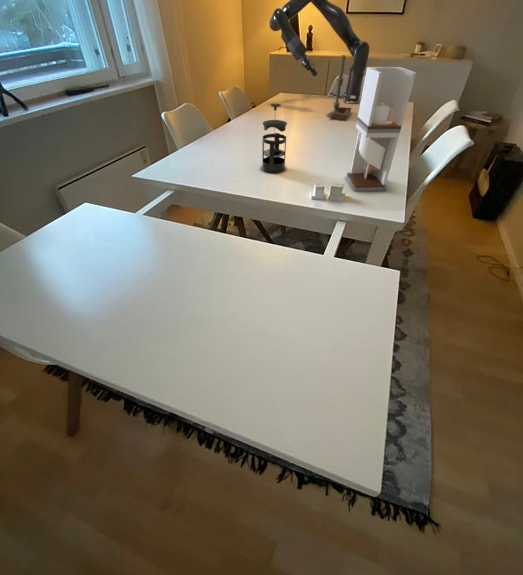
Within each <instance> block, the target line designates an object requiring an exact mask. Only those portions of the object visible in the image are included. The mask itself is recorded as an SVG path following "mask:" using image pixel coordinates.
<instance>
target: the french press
mask: <svg viewBox="0 0 523 575" xmlns="http://www.w3.org/2000/svg"><path fill="white" fill-rule="evenodd" d="M269 107H273V111H274V119H268V120H265V121H263V122H262V125H263V130H264V131H268V129H270V128H273V133H267V134H264V135H263V136H262V156H261V158H262V162H261V163H262V166H261V170H262V171H263V172H265V173H267V174H280V173H282V172H285V170H286V153H287V152H286V150H287V136H286V135H284V134H281V133H279V132H276V130H278V131H280V132H282V133H283V132H285V131H286V127H287V125H288V122H287V121H285V120H281V119H276V117H277V116H276V115H277V114H276V113H277V108H280V107H282V104H280V103H270V104H269ZM271 138H273V140H270V139H271ZM265 144H267V145H269V148H267V149H265ZM283 144H284V150H283V149H280V145H283Z"/></svg>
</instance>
